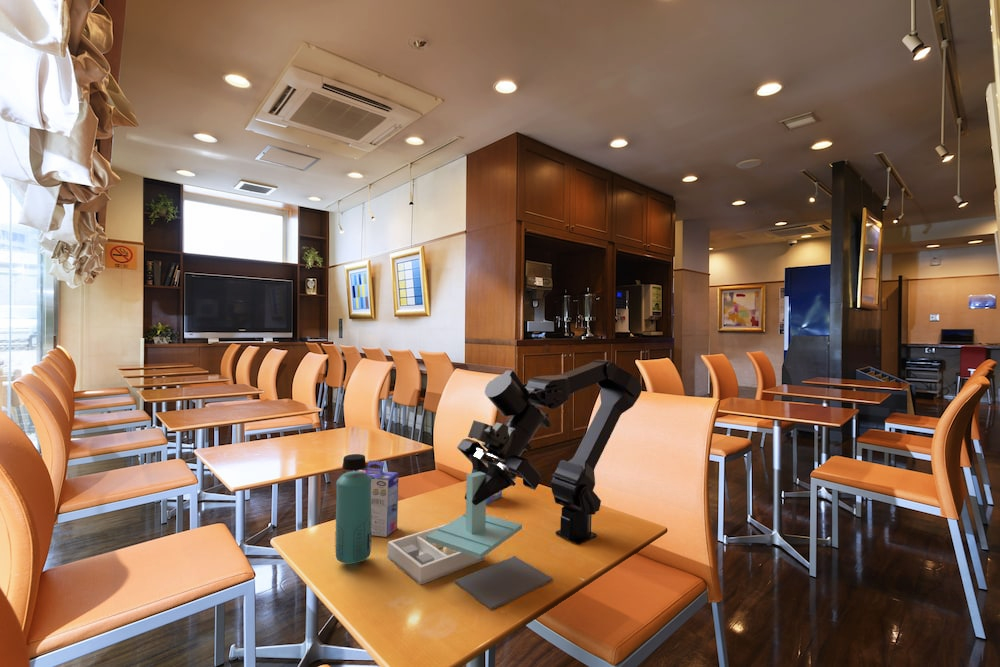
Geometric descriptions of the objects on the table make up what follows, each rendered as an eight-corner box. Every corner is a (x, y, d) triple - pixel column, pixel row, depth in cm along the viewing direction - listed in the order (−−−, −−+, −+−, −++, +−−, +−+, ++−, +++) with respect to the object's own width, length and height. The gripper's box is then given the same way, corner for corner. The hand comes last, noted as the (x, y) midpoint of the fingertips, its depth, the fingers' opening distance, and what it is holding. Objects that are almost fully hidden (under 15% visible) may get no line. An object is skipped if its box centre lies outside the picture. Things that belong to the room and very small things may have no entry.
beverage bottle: (371, 569, 84) (374, 459, 84) (332, 574, 82) (334, 461, 82) (371, 552, 90) (373, 450, 90) (334, 556, 88) (336, 451, 88)
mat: (514, 558, 89) (514, 556, 89) (552, 580, 82) (552, 577, 82) (454, 582, 80) (454, 580, 80) (491, 610, 73) (491, 607, 73)
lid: (471, 514, 92) (472, 459, 91) (521, 528, 86) (522, 470, 85) (426, 540, 80) (426, 478, 80) (480, 559, 74) (481, 491, 74)
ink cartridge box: (398, 527, 102) (400, 461, 102) (387, 538, 97) (389, 468, 96) (357, 522, 104) (358, 457, 104) (344, 533, 99) (345, 465, 98)
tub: (448, 537, 98) (449, 523, 98) (484, 559, 88) (484, 544, 88) (387, 557, 88) (387, 541, 88) (420, 584, 79) (420, 567, 79)
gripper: (465, 397, 92) (415, 462, 86) (529, 412, 78) (474, 492, 71) (496, 431, 97) (451, 495, 91) (561, 451, 83) (513, 529, 76)
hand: (469, 501), depth 82 cm, fingers closed on lid
